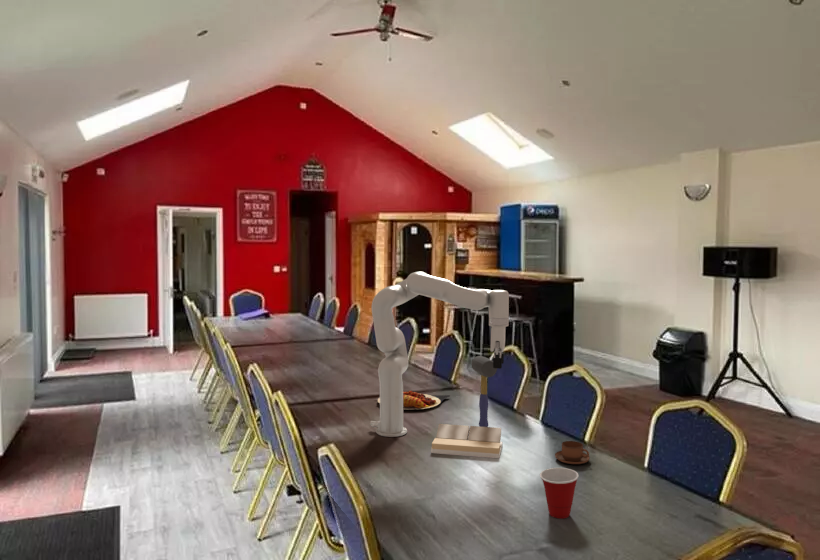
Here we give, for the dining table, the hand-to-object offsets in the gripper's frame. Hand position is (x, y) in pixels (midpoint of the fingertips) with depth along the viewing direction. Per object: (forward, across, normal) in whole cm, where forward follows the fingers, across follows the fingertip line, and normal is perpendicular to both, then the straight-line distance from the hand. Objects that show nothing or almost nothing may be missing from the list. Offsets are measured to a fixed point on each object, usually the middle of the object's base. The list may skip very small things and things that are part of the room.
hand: (498, 365), depth 242 cm
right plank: (+26, +9, -4) cm, 28 cm away
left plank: (+26, +8, -16) cm, 32 cm away
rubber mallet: (+30, -15, -7) cm, 34 cm away
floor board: (+30, +12, -10) cm, 34 cm away
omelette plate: (+30, -49, -46) cm, 74 cm away
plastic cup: (+30, +62, +22) cm, 73 cm away
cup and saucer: (+30, +16, +28) cm, 44 cm away
